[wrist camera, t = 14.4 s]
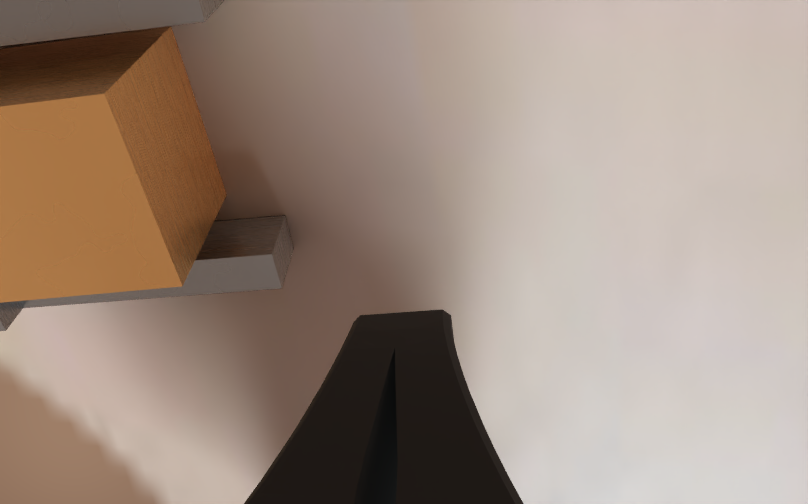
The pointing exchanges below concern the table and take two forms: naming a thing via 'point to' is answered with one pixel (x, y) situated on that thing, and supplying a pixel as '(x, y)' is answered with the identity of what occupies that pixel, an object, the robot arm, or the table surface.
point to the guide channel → (227, 240)
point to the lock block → (101, 167)
